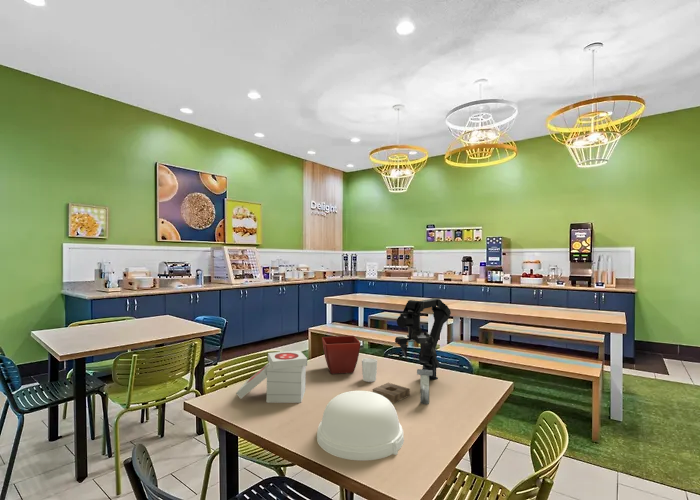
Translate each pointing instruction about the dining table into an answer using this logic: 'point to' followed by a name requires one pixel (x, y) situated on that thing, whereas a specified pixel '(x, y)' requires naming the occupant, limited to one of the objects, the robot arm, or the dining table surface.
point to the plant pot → (341, 353)
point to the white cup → (369, 369)
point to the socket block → (392, 392)
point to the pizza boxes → (281, 377)
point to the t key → (424, 385)
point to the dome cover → (360, 427)
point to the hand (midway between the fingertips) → (414, 357)
